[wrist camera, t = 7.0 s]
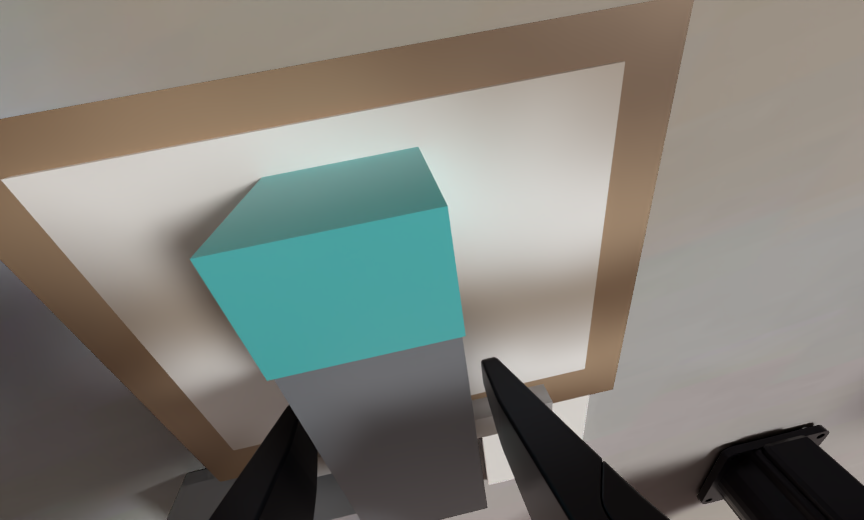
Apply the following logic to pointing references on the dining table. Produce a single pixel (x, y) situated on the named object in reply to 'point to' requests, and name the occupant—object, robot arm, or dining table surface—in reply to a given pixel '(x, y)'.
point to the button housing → (207, 491)
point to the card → (494, 455)
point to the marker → (359, 326)
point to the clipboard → (341, 141)
